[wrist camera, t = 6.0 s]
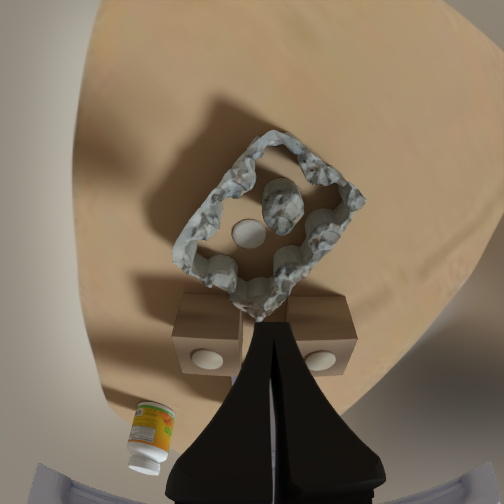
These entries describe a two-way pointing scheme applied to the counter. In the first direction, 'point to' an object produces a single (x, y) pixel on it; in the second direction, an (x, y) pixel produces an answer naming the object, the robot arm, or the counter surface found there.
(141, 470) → the supplement bottle
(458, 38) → the counter surface
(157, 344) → the counter surface
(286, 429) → the robot arm
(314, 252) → the egg carton
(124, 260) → the counter surface
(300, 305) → the dotted block
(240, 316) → the dotted block
